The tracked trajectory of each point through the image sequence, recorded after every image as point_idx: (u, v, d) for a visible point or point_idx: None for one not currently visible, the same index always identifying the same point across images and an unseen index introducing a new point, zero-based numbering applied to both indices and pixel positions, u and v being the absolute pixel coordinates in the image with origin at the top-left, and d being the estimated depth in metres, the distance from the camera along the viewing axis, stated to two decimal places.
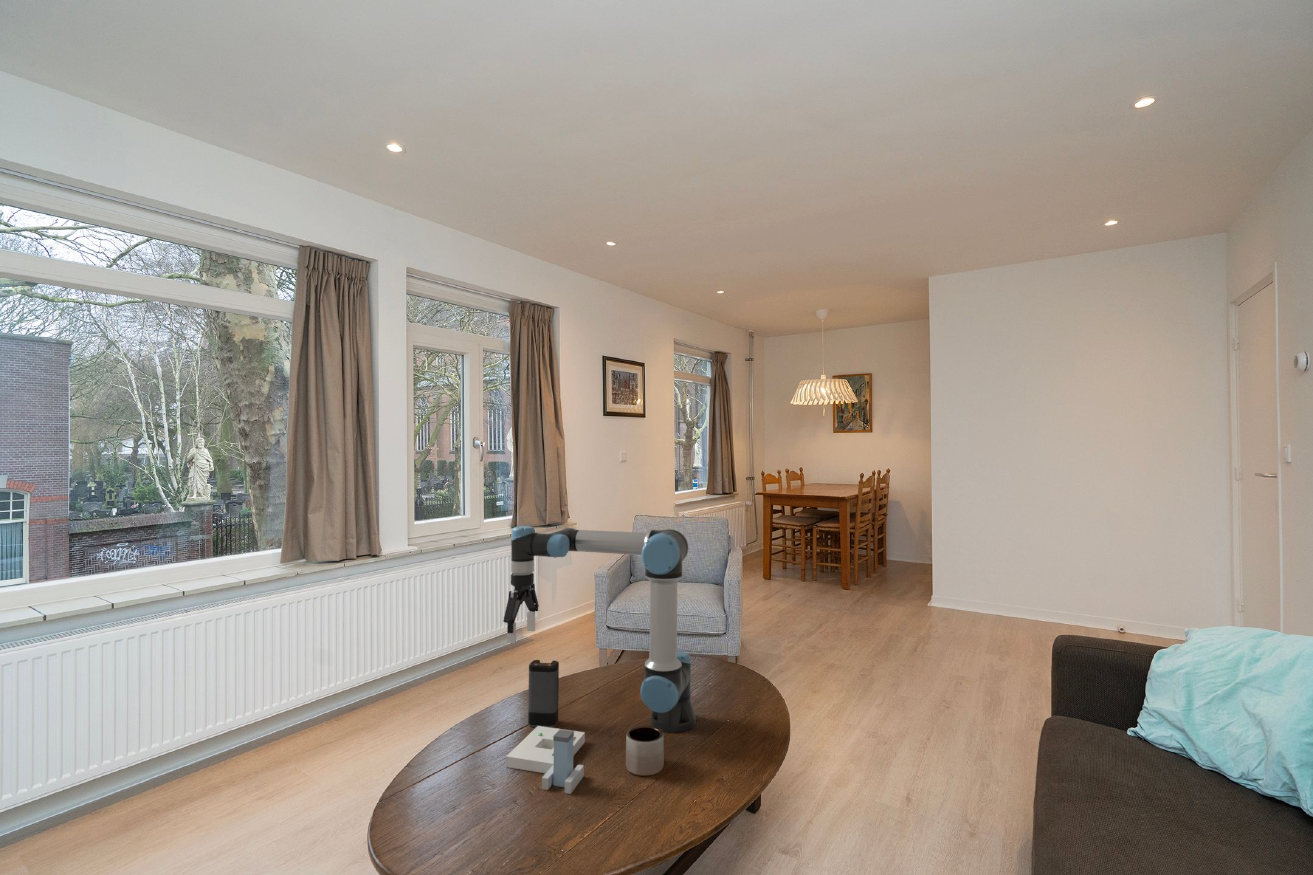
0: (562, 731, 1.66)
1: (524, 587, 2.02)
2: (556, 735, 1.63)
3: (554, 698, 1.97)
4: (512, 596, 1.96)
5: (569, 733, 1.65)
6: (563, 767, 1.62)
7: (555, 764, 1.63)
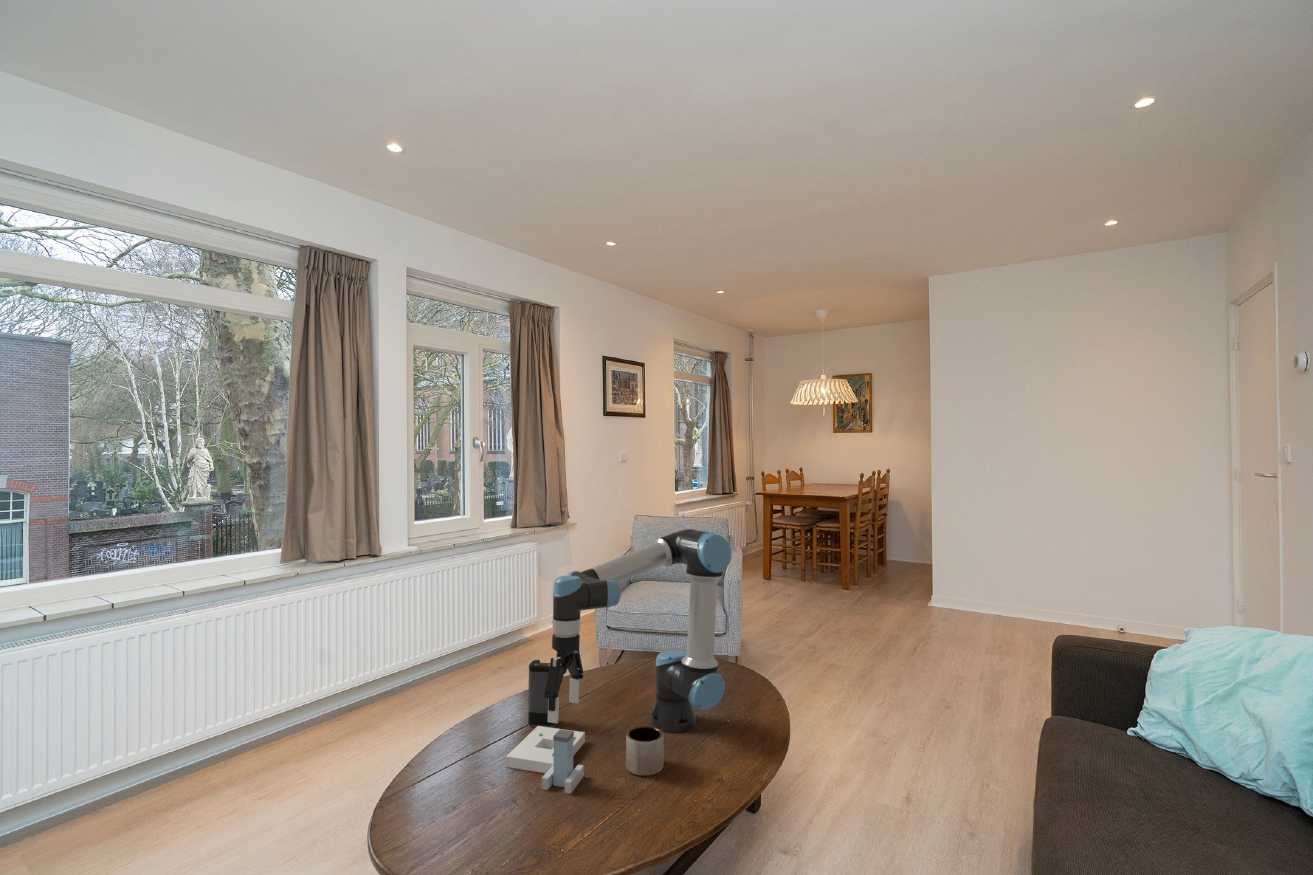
0: (562, 731, 1.66)
1: (568, 651, 1.65)
2: (556, 735, 1.63)
3: None
4: (555, 665, 1.59)
5: (569, 733, 1.65)
6: (563, 767, 1.62)
7: (555, 764, 1.63)
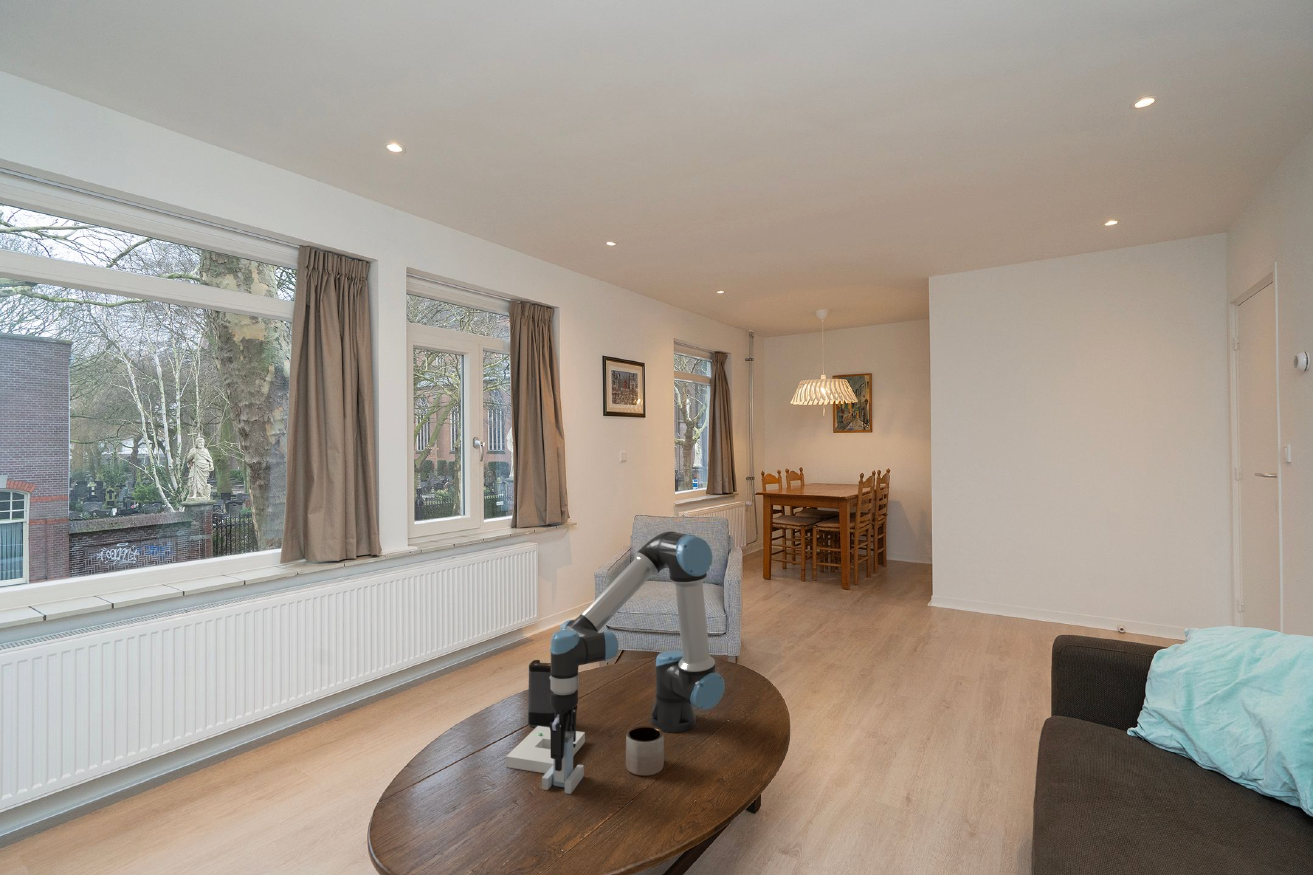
0: None
1: None
2: None
3: None
4: (554, 729, 1.59)
5: (569, 733, 1.65)
6: None
7: None
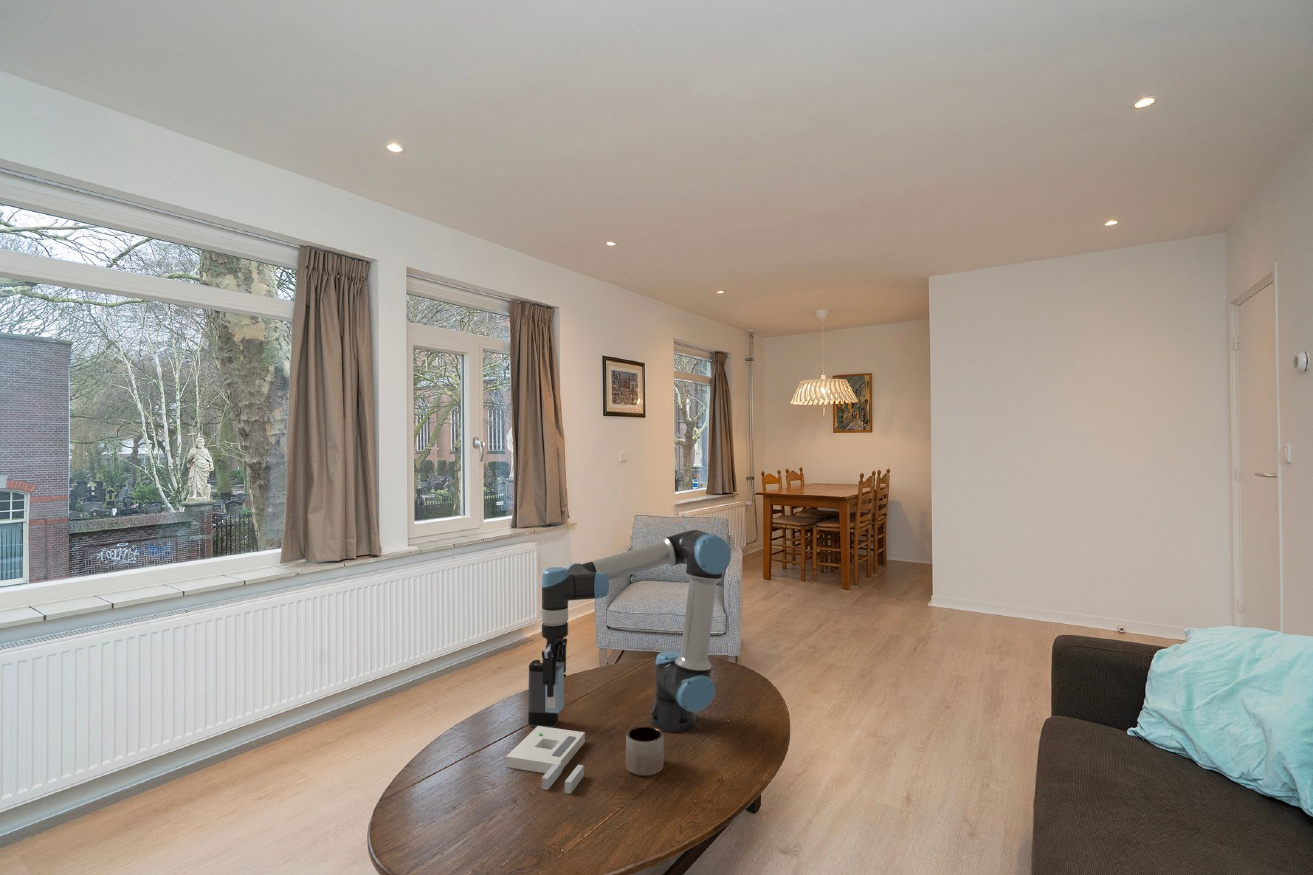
0: None
1: (557, 639, 1.74)
2: None
3: None
4: (546, 657, 1.68)
5: (560, 663, 1.74)
6: None
7: None
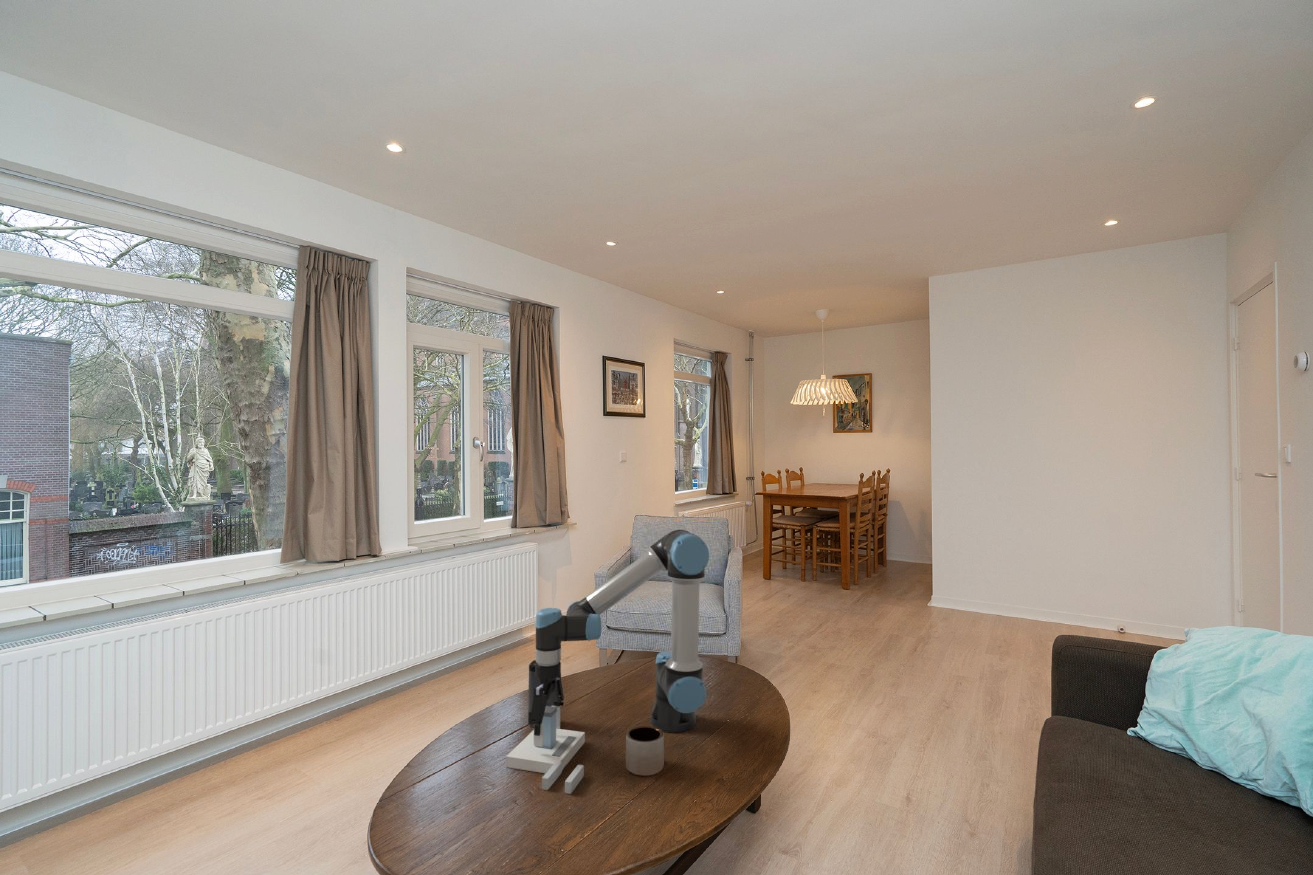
0: (546, 707, 1.81)
1: (550, 678, 1.80)
2: None
3: None
4: (538, 693, 1.74)
5: (552, 709, 1.80)
6: (547, 740, 1.78)
7: None
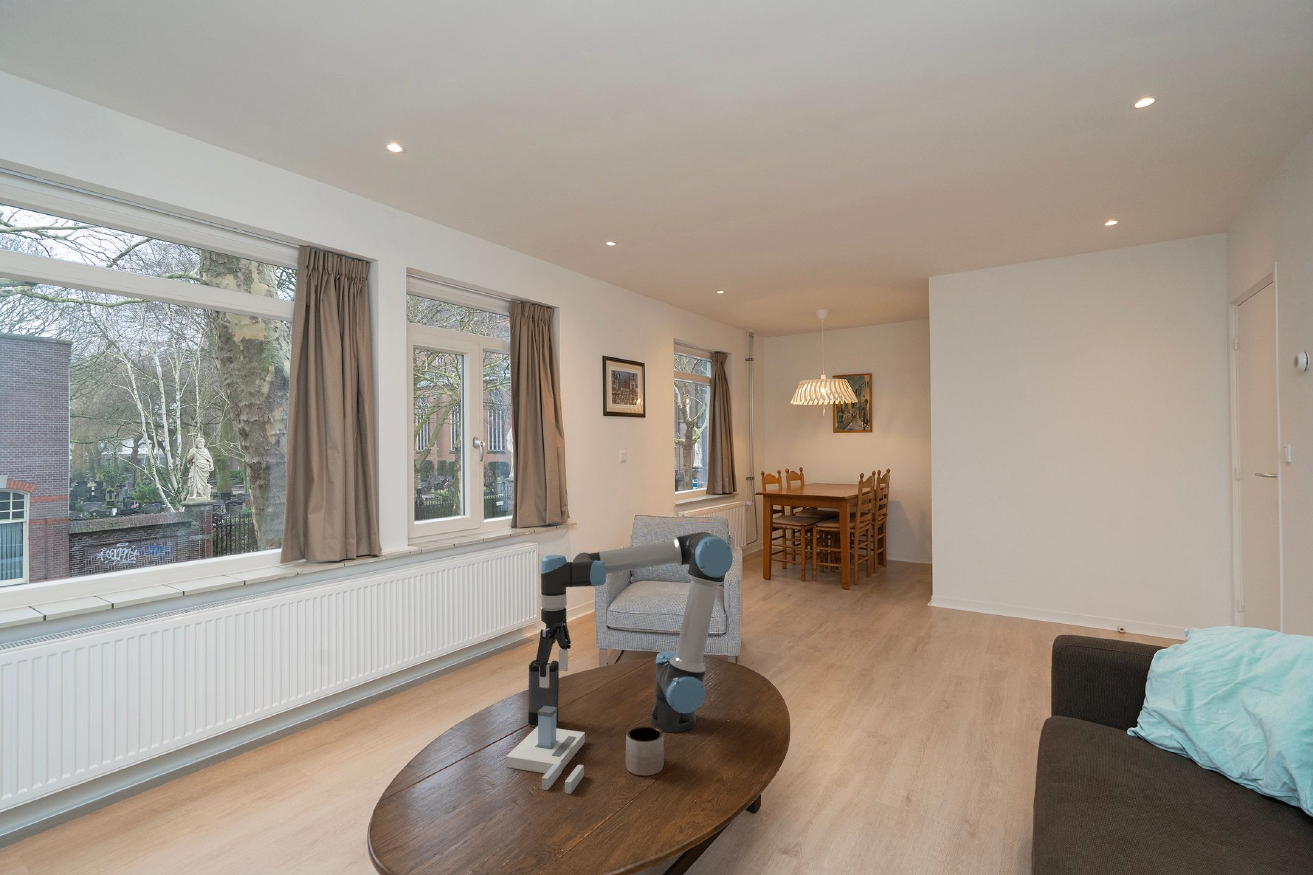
0: (546, 707, 1.81)
1: (556, 623, 1.81)
2: (540, 710, 1.79)
3: (554, 698, 1.97)
4: (544, 635, 1.75)
5: (552, 709, 1.80)
6: (547, 740, 1.78)
7: (539, 737, 1.78)
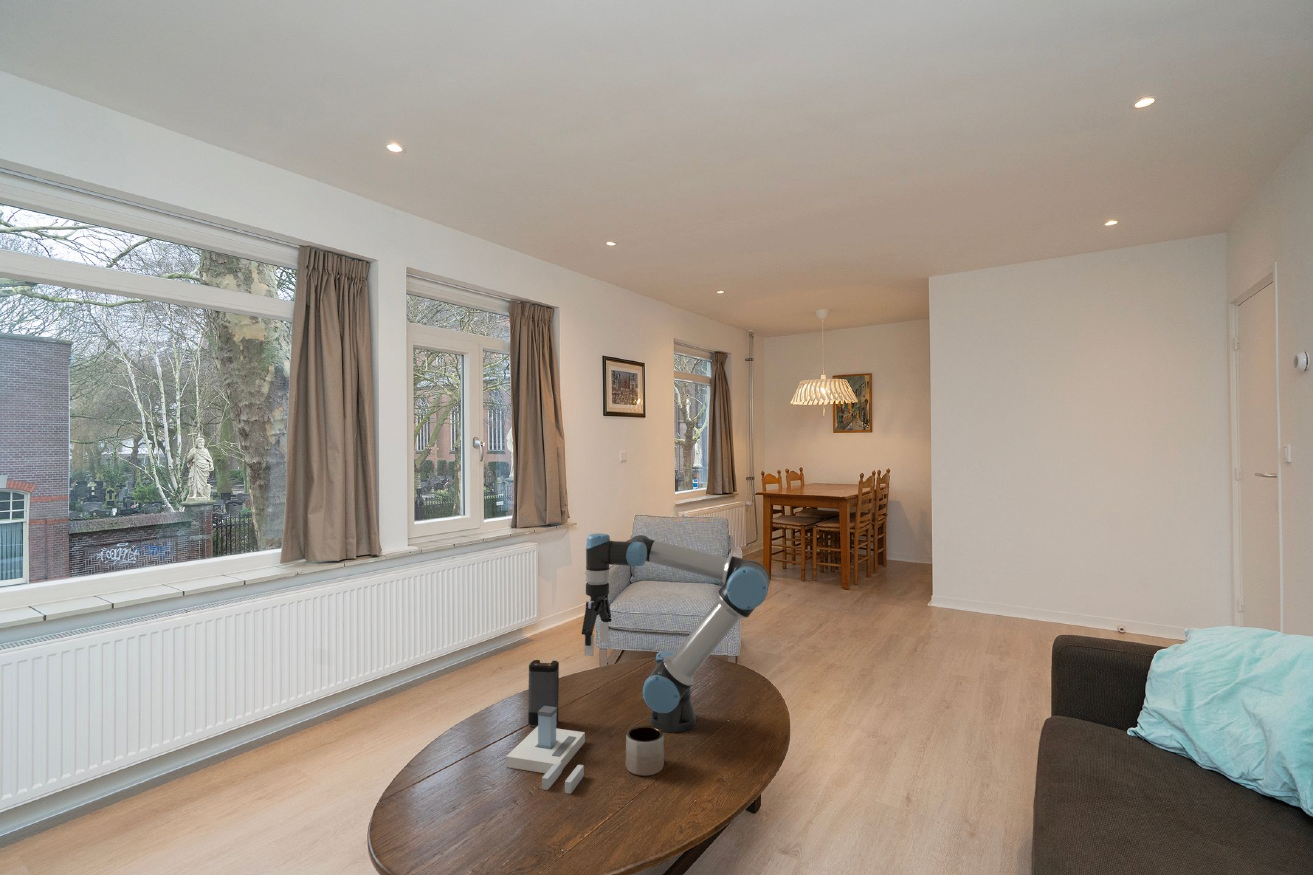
0: (546, 707, 1.81)
1: (600, 597, 1.94)
2: (540, 710, 1.79)
3: (554, 698, 1.97)
4: (590, 607, 1.88)
5: (552, 709, 1.80)
6: (547, 740, 1.78)
7: (539, 737, 1.78)
